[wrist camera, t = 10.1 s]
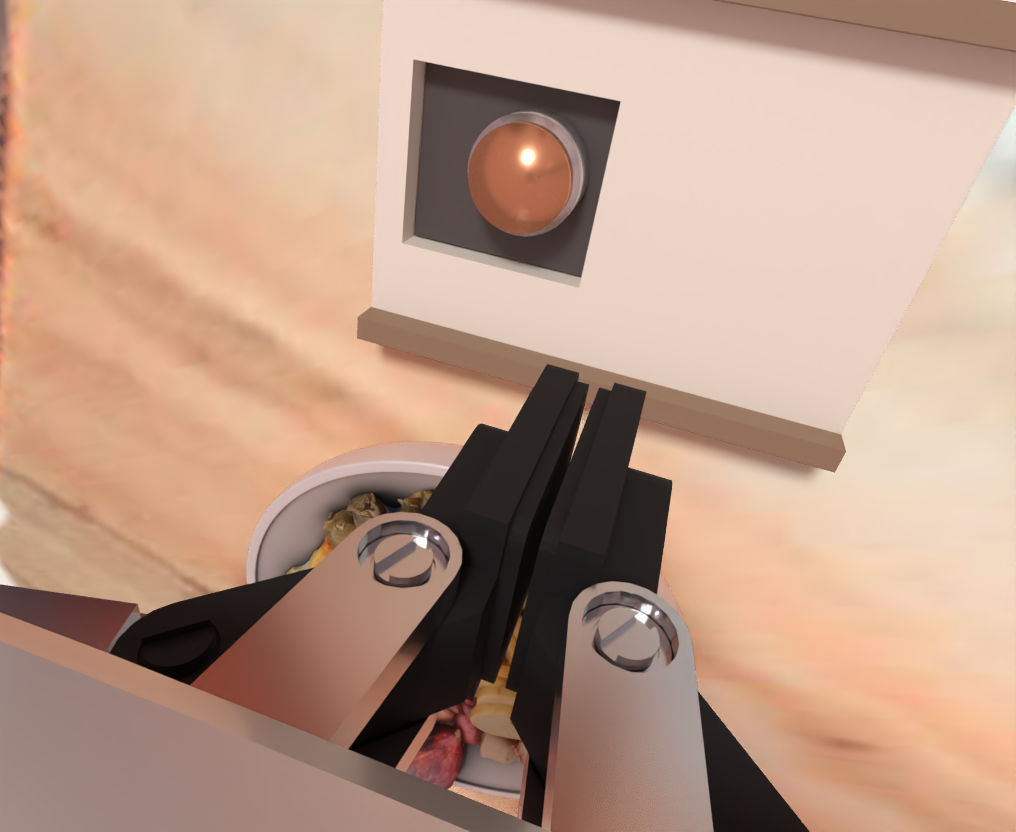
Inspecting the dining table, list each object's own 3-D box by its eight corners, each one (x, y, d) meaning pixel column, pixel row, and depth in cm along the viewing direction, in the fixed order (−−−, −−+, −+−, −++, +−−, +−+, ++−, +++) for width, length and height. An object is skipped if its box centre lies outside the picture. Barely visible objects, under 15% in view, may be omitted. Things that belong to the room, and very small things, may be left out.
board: (1043, 16, 22) (1084, 13, 20) (826, 438, 32) (834, 472, 29) (402, -89, 26) (368, -102, 23) (382, 317, 36) (357, 338, 33)
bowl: (283, 356, 39) (196, 419, 33) (772, 511, 35) (783, 619, 29) (289, 657, 56) (231, 738, 49) (623, 788, 51) (608, 896, 45)
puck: (605, 128, 28) (593, 136, 25) (571, 238, 30) (556, 256, 28) (497, 93, 28) (474, 98, 26) (473, 205, 31) (451, 219, 28)
